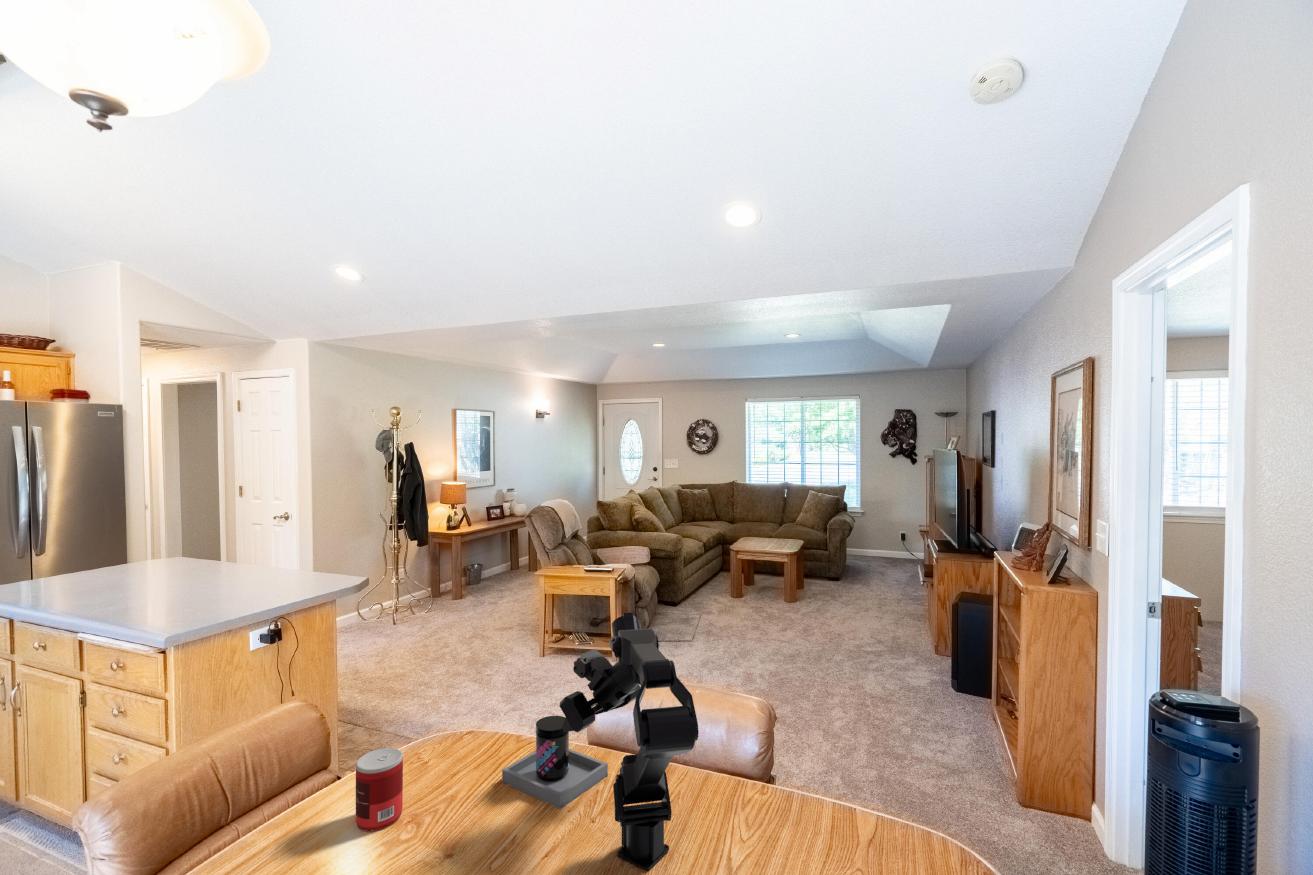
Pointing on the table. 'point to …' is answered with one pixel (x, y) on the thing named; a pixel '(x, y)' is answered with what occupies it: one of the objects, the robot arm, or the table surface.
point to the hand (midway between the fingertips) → (579, 720)
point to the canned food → (379, 789)
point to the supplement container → (551, 749)
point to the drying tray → (559, 792)
